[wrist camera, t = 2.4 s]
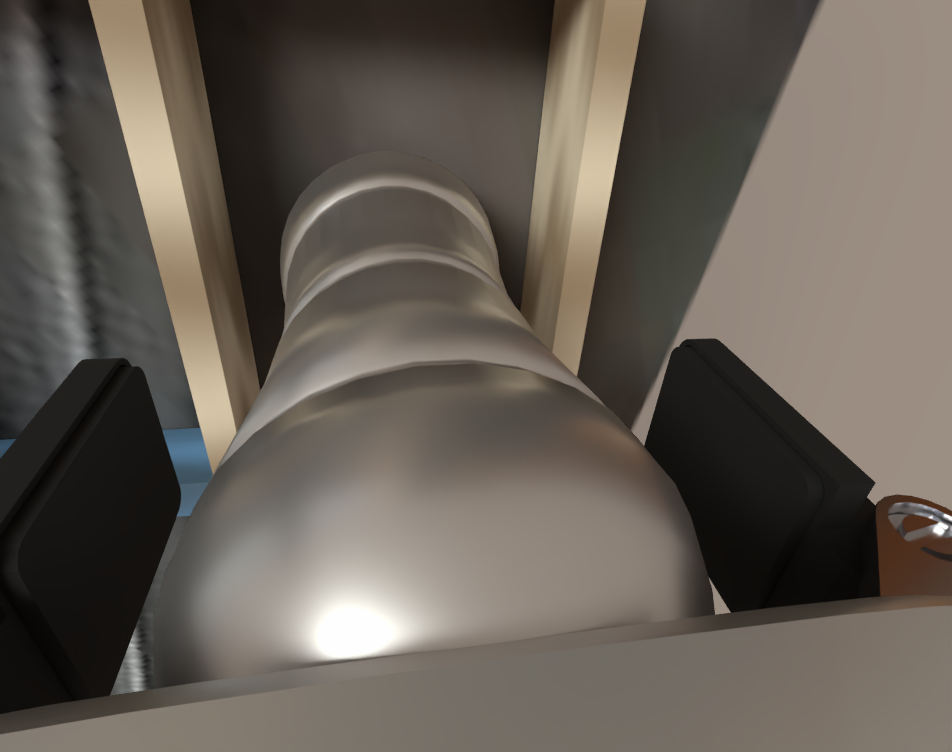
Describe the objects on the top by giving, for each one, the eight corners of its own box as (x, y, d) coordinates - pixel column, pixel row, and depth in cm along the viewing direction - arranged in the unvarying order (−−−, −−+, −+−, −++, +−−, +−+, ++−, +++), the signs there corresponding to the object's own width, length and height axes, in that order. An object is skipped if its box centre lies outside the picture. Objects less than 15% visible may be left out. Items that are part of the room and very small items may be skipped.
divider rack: (527, 434, 25) (554, 498, 21) (-66, 476, 20) (-148, 563, 17) (598, -79, 15) (666, -108, 12) (-486, -199, 11) (-851, -296, 8)
